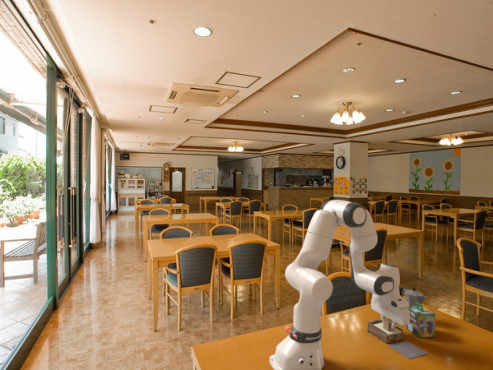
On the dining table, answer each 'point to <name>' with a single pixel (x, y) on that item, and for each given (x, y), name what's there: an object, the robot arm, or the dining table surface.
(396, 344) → the mat
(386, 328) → the cover plate
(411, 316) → the chalk box
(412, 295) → the coffeepot
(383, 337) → the open wooden box
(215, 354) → the dining table surface
